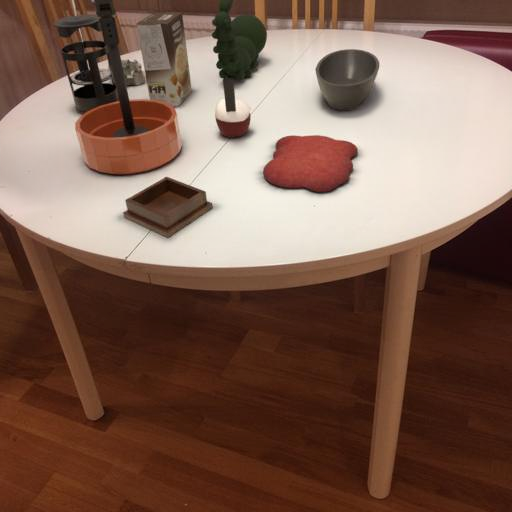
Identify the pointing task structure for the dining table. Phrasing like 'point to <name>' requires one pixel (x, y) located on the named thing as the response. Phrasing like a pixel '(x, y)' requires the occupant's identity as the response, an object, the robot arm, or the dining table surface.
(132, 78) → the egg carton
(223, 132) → the cocoa
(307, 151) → the patty
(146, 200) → the small square brown tray
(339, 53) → the bowl
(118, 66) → the black plunger
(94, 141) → the orange round dish
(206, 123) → the dining table surface
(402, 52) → the dining table surface
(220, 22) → the green topiary foliage
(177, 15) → the coffee box
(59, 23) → the french press
